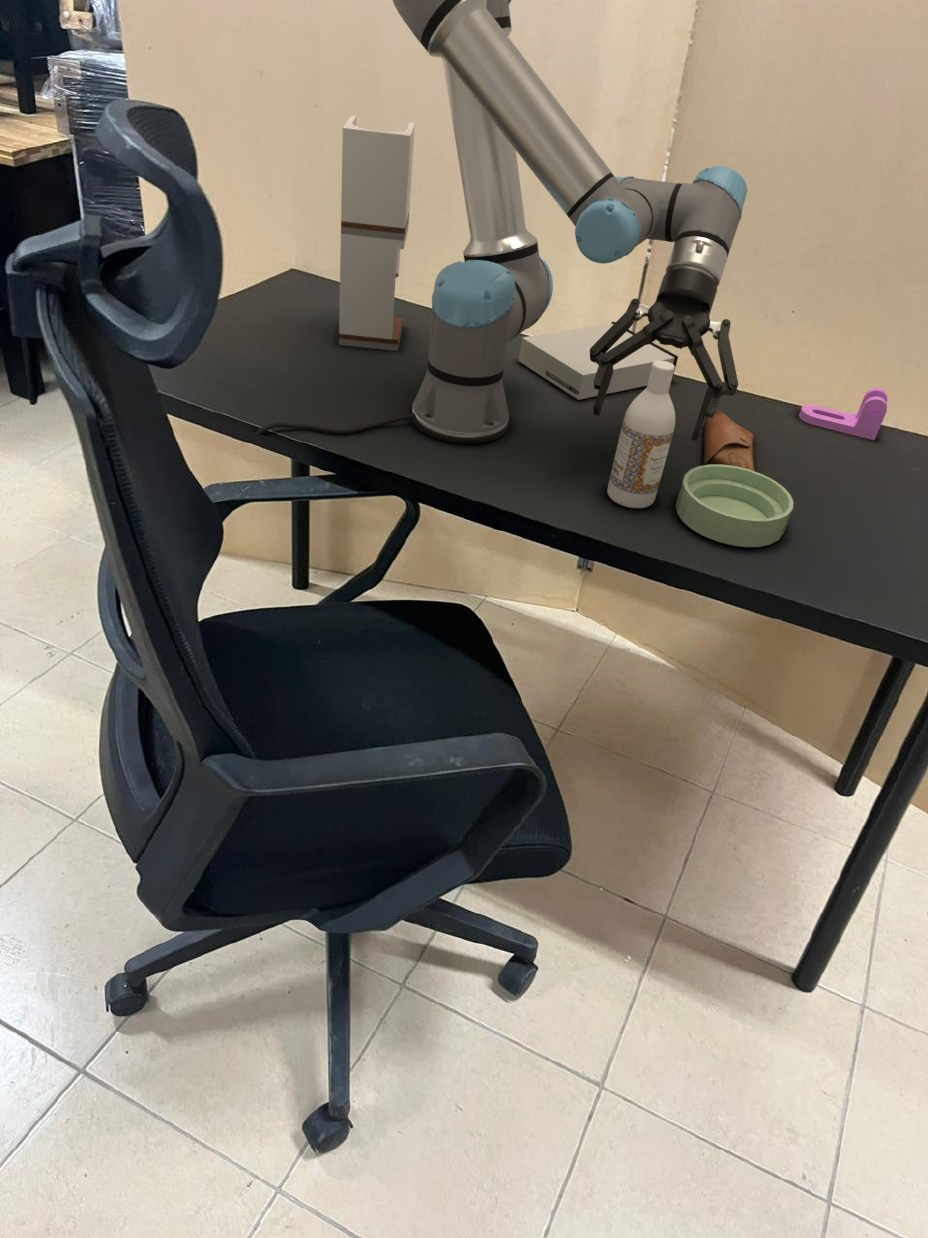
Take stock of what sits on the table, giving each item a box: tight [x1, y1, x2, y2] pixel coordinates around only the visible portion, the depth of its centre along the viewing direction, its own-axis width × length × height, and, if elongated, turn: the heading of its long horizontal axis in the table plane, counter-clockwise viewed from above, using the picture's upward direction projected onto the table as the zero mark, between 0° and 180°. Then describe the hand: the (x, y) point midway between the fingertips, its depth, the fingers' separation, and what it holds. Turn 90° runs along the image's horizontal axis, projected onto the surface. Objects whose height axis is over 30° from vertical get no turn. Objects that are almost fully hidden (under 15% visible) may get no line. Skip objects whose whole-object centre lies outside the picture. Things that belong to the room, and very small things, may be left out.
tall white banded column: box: [338, 114, 416, 352], centre depth 156 cm, size 11×11×35 cm
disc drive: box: [518, 321, 679, 401], centre depth 163 cm, size 18×22×5 cm
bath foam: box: [606, 361, 676, 509], centre depth 123 cm, size 7×7×20 cm
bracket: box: [798, 387, 888, 441], centre depth 155 cm, size 13×6×7 cm, turn 68°
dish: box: [675, 464, 795, 548], centre depth 126 cm, size 15×15×4 cm
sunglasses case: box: [702, 409, 755, 471], centre depth 142 cm, size 18×7×7 cm, turn 168°
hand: (644, 424), depth 120 cm, fingers open, 13 cm apart
